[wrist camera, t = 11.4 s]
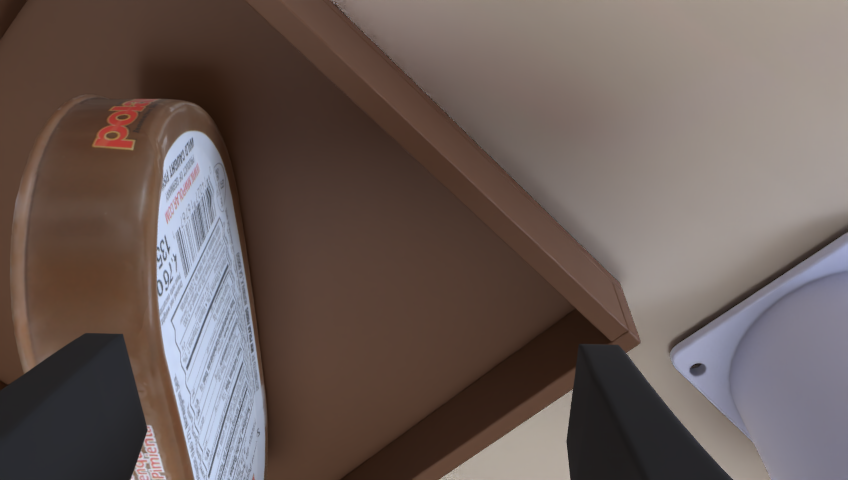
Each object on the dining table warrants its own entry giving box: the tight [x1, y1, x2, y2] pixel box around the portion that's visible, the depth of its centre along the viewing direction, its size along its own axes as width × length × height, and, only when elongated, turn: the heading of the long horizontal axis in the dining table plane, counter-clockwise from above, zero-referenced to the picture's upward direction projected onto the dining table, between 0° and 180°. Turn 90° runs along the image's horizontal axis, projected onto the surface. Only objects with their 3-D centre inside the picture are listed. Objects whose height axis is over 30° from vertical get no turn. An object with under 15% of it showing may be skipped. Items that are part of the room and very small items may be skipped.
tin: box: [10, 94, 268, 480], centre depth 19 cm, size 15×3×8 cm, turn 0°
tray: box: [0, 0, 641, 480], centre depth 22 cm, size 18×18×3 cm
